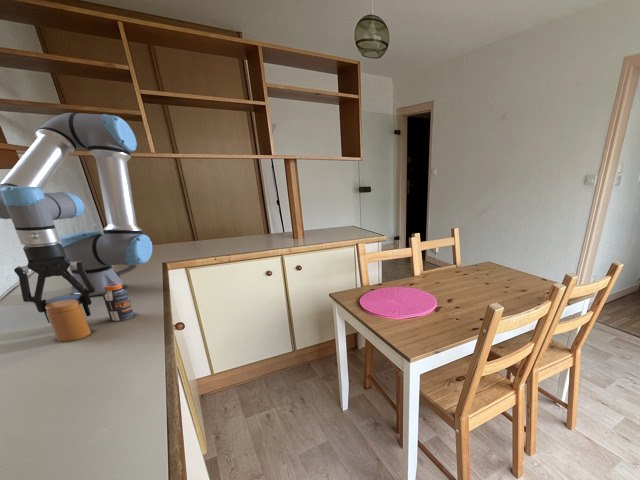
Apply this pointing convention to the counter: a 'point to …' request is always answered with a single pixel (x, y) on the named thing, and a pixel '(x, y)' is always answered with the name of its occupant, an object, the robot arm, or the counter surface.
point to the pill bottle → (117, 302)
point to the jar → (67, 320)
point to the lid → (66, 297)
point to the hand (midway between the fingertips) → (70, 317)
